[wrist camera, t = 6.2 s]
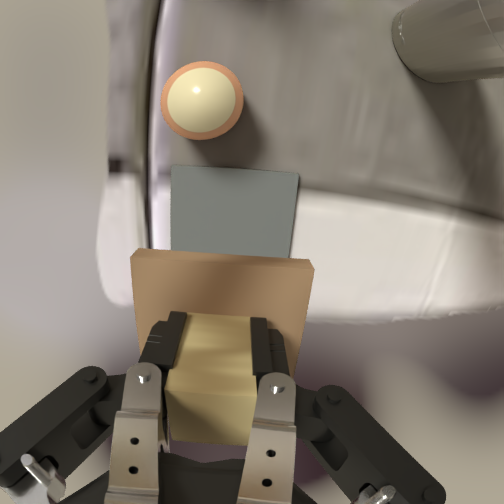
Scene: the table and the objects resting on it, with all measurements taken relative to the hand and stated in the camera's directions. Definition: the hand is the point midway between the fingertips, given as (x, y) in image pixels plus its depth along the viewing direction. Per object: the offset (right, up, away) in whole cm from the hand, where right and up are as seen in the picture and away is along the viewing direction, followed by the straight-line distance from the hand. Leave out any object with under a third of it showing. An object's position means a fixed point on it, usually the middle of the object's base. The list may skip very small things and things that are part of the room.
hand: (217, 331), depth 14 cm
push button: (-3, +17, +12) cm, 21 cm away
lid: (0, 0, +2) cm, 2 cm away
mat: (0, +7, +16) cm, 18 cm away
